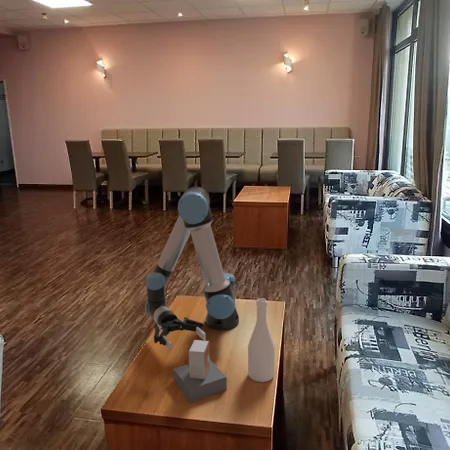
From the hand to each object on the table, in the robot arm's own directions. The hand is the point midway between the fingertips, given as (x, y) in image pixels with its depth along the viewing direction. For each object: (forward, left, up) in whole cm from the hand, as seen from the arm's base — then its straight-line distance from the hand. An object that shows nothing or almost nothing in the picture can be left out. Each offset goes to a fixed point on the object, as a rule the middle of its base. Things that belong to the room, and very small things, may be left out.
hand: (188, 342), depth 164 cm
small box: (0, +9, -8) cm, 12 cm away
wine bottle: (-22, +15, -13) cm, 29 cm away
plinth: (0, +9, -13) cm, 16 cm away
